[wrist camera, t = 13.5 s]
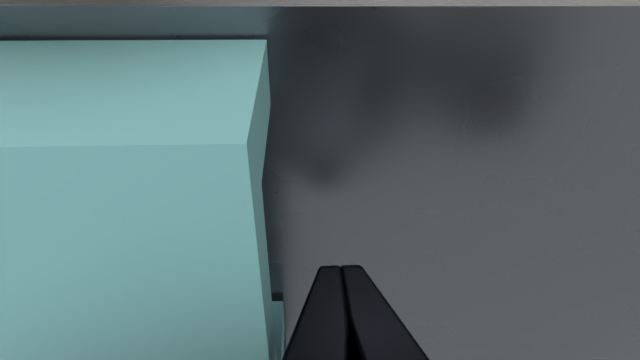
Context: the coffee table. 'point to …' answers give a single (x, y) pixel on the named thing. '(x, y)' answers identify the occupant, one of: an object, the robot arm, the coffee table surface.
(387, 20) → the metal cubes
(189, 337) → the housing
